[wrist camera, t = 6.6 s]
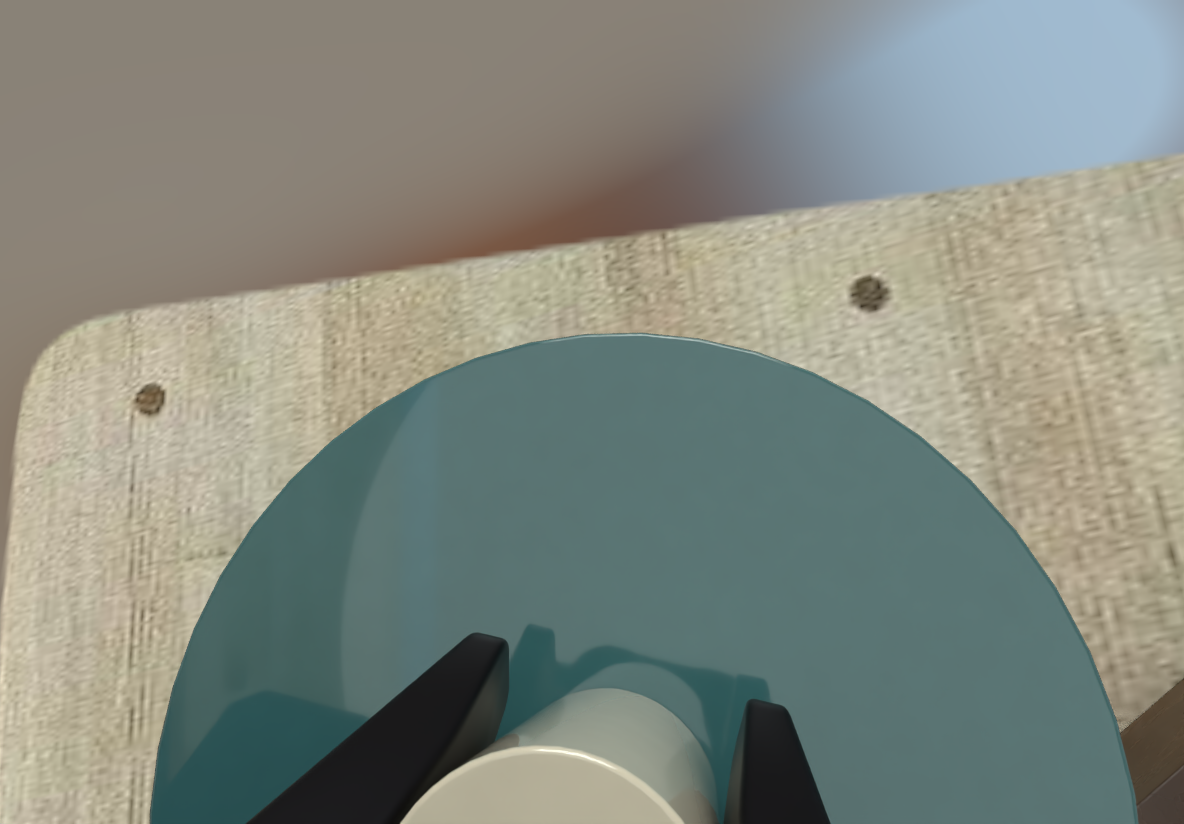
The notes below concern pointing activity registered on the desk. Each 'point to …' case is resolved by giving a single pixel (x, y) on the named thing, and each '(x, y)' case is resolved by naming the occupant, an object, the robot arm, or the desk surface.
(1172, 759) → the board
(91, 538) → the desk surface
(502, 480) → the lid
